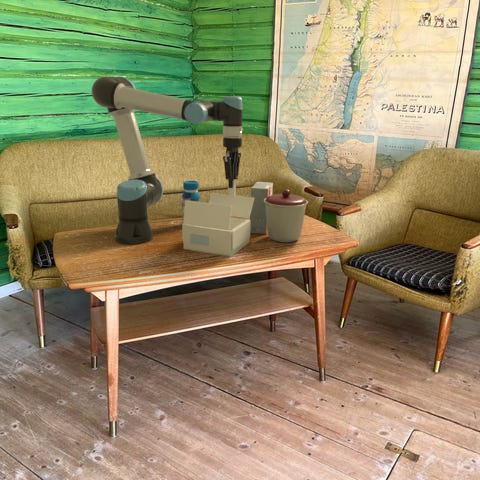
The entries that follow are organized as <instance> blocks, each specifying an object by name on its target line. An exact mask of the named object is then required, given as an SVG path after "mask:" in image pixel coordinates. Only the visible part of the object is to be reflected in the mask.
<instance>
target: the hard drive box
mask: <svg viewBox="0 0 480 480" xmlns="http://www.w3.org/2000/svg"><path fill="white" fill-rule="evenodd" d="M273 187H274V183H273V182H267V181H257V182H255V183H254V184H253V186H252V187H250V197H254V202H253V206H252V210H251V213H250V217H249V220H251V224H250V234H260V235H261V234H262V235H266V234H268V231H267V220H266V207H265V202H264V199H265V198H267V197H268V196H271V195H273Z"/></svg>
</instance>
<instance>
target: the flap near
mask: <svg viewBox="0 0 480 480" xmlns="http://www.w3.org/2000/svg"><path fill="white" fill-rule="evenodd" d="M231 210H232V206H229V205H221V204H212V203H209V202H203V201H202V202H196V201H188V200H185V207H184V219H183V218H182V224H188V225H195V226H202V227H209V228H216V229H223V230H230V220H231V217H232V216H231Z"/></svg>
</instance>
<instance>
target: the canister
mask: <svg viewBox="0 0 480 480" xmlns="http://www.w3.org/2000/svg"><path fill="white" fill-rule="evenodd" d="M291 193H292V192H291V191H290V190H289V189H287V188H286V189H282V190H281V193H274V194H272V195H271V196H268V197H267V198H265V199H264V202H265V207H266V220H267V235H268V238H270V240H272V241H275V242H279V243H292V242H296V241H298V240H299V239H300V237H301V235H302V230H303V226H304V220H305V214H306V208H307V205H308V204H309V201H308V200H307V199H306V198H305V197H303V196H301V195H298V194H291Z"/></svg>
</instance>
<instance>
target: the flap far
mask: <svg viewBox="0 0 480 480" xmlns="http://www.w3.org/2000/svg"><path fill="white" fill-rule="evenodd" d="M253 202H254V197H251V196H243V195H235V196H230V195H228V193H226V194H224V193H218V192H217V193H216V192H211V194H210V197H209V201H208V203H212V204H221V205H229V206H232V210H231V217H234V218H241V219H250V213H251V210H252V206H253Z"/></svg>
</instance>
